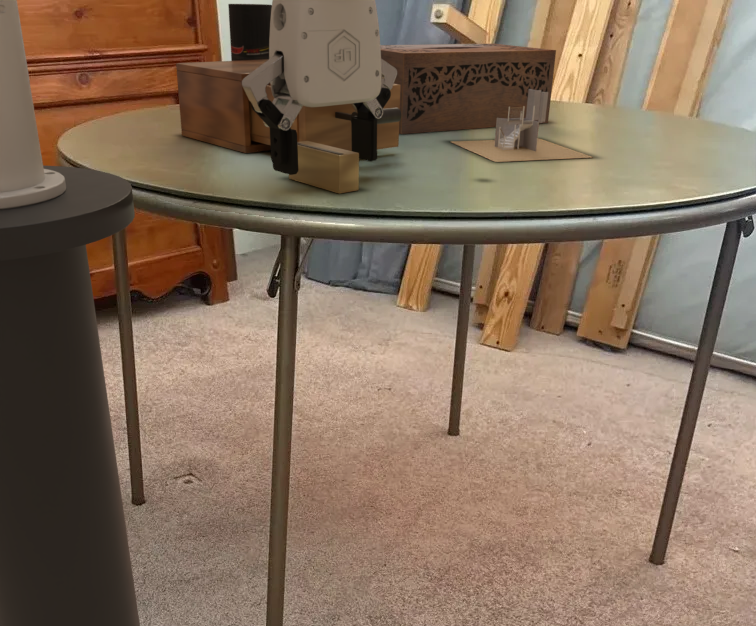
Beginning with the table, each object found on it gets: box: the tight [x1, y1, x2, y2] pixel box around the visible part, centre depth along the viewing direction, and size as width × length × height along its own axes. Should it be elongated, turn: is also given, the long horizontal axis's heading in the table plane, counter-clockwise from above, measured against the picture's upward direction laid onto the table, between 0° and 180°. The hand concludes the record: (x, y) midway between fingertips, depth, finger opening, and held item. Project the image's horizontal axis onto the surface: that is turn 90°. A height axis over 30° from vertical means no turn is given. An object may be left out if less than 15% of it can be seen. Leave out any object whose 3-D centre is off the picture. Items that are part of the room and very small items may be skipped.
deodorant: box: [227, 3, 272, 61], centre depth 112 cm, size 6×6×15 cm
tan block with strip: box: [288, 141, 360, 194], centre depth 77 cm, size 2×8×4 cm, turn 42°
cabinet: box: [175, 59, 271, 154], centre depth 98 cm, size 15×15×9 cm
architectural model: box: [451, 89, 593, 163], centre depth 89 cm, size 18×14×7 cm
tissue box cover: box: [380, 43, 557, 135], centre depth 115 cm, size 26×14×10 cm, turn 121°
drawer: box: [249, 83, 402, 151], centre depth 89 cm, size 18×13×7 cm
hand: (326, 165), depth 77 cm, fingers open, 9 cm apart
